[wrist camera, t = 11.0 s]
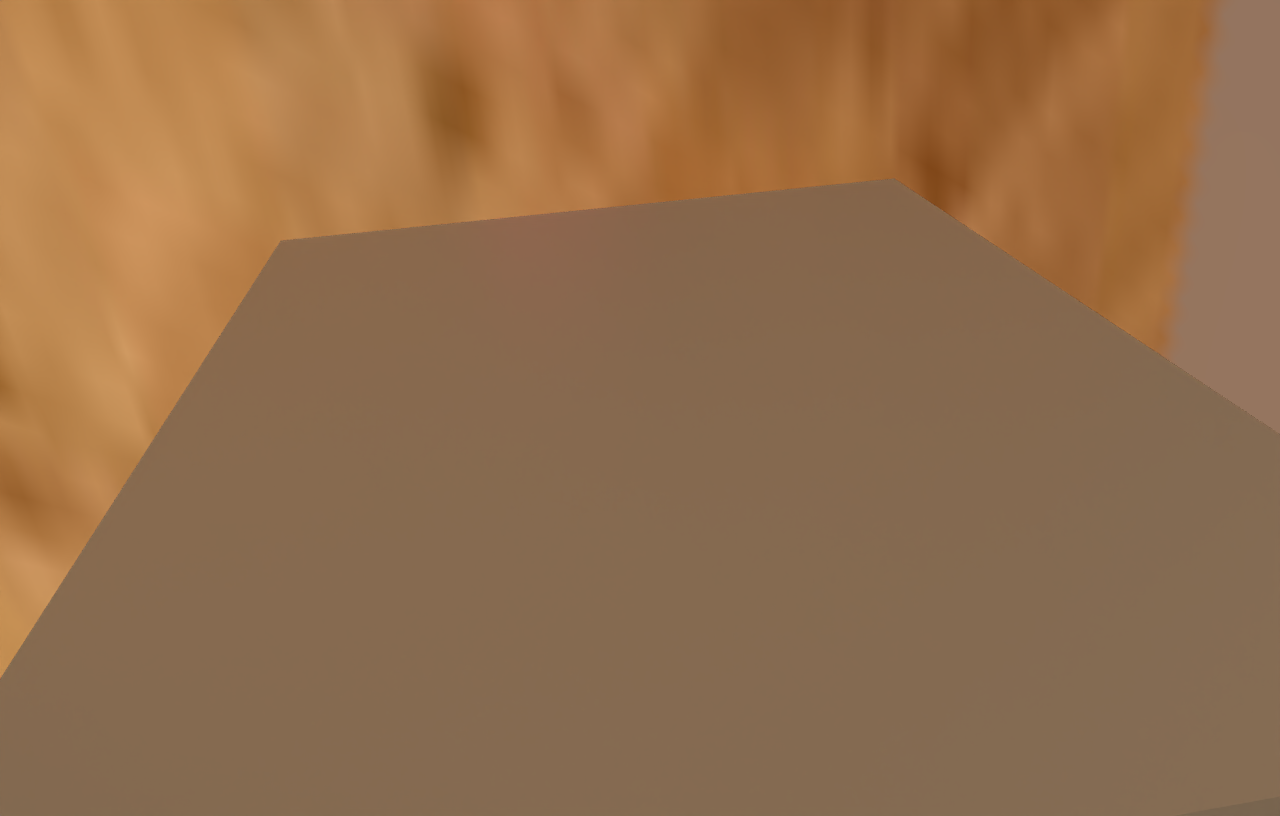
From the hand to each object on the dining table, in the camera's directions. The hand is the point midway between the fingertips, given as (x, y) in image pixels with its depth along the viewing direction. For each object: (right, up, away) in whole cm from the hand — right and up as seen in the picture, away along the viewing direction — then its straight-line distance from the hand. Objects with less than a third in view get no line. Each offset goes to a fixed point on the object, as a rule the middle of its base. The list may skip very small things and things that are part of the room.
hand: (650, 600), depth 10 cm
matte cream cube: (0, +1, +3) cm, 3 cm away
